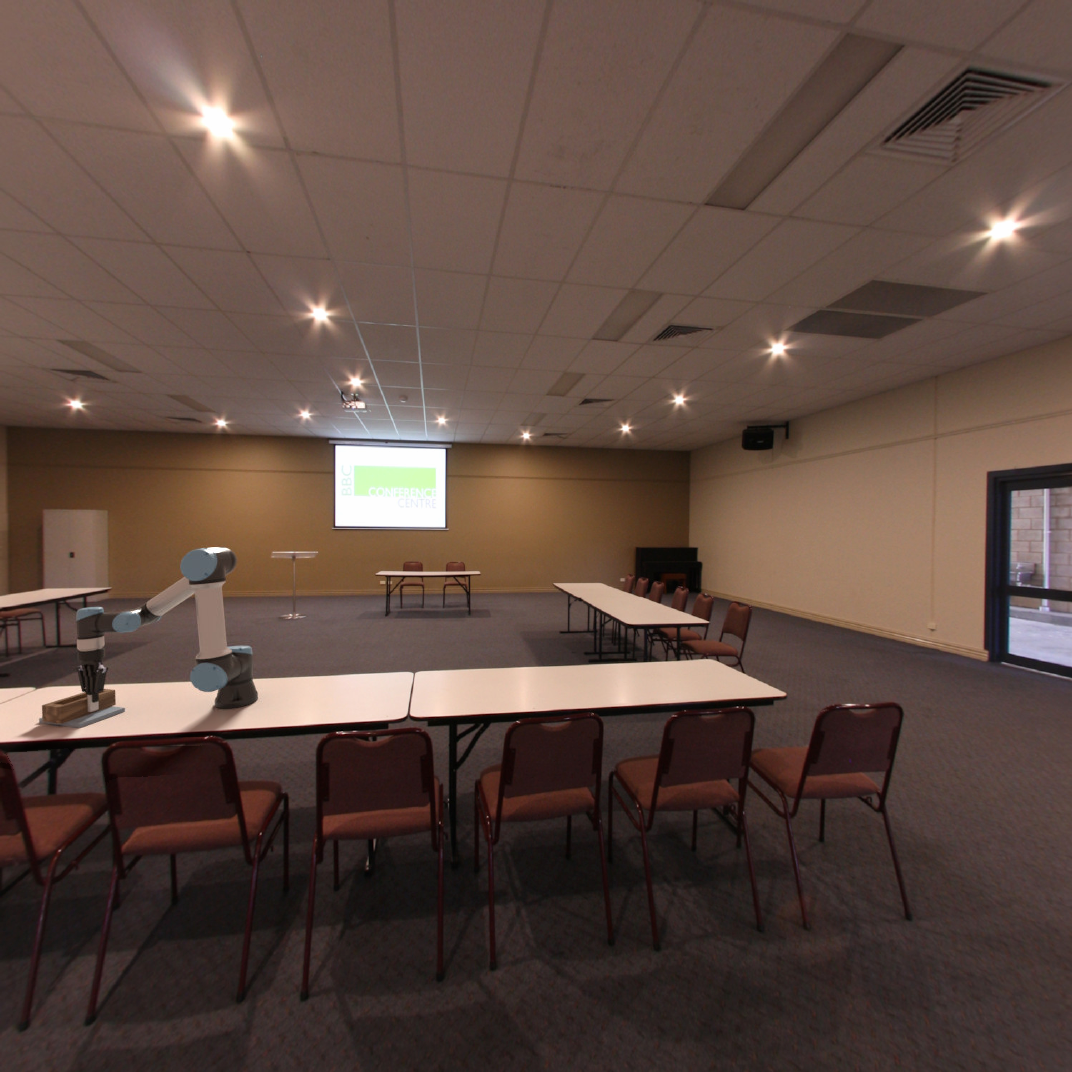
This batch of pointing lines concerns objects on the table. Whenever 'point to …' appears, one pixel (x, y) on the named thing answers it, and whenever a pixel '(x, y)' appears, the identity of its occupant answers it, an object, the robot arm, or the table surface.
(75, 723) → the blue-grey board with posts
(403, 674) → the table surface
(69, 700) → the frame
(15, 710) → the table surface
